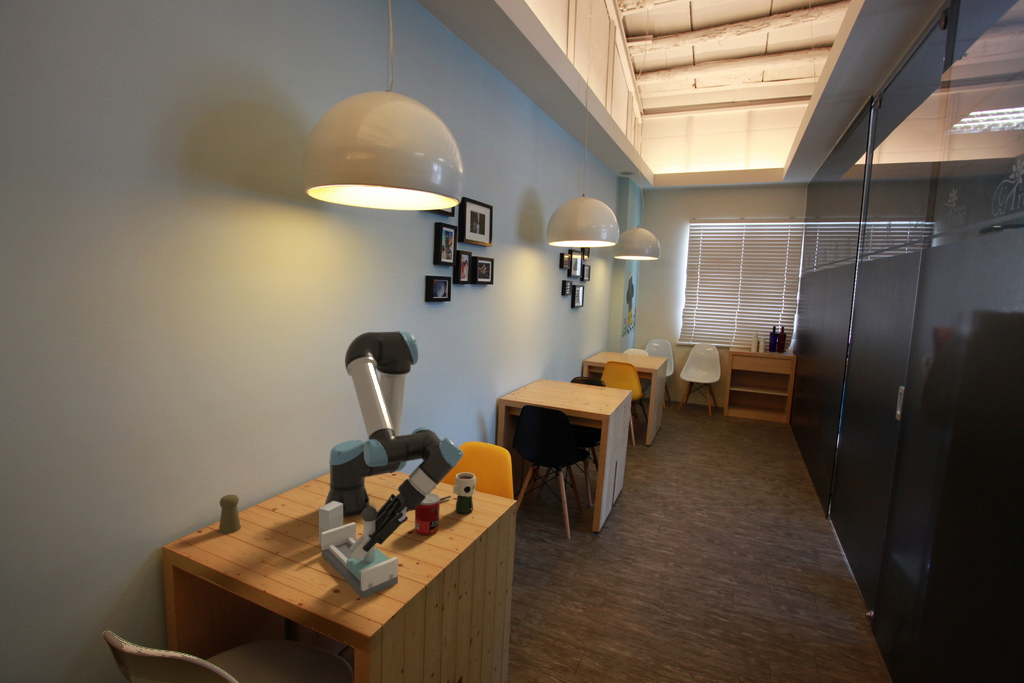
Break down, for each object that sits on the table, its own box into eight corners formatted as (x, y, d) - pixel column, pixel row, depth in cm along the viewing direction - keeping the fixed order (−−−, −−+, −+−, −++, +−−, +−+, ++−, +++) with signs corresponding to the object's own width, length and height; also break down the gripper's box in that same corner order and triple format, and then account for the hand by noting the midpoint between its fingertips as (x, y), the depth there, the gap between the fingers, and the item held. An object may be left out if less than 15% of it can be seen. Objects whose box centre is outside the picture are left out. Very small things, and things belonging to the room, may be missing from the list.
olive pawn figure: (216, 528, 152) (215, 496, 151) (237, 522, 156) (236, 490, 155) (222, 536, 148) (221, 502, 147) (243, 529, 152) (242, 496, 151)
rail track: (321, 555, 140) (321, 532, 139) (353, 543, 146) (354, 522, 146) (362, 598, 121) (363, 572, 120) (397, 583, 128) (398, 558, 127)
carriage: (346, 566, 128) (346, 506, 127) (377, 554, 135) (377, 497, 133) (360, 580, 123) (360, 517, 121) (391, 567, 129) (392, 507, 127)
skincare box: (333, 536, 150) (333, 500, 149) (343, 539, 148) (343, 503, 147) (318, 545, 145) (318, 507, 143) (328, 549, 143) (328, 511, 142)
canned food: (434, 537, 152) (434, 504, 151) (410, 533, 154) (411, 501, 153) (442, 525, 160) (443, 494, 158) (420, 522, 161) (420, 491, 160)
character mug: (460, 519, 165) (461, 483, 163) (446, 512, 169) (447, 477, 168) (481, 509, 173) (483, 474, 172) (468, 502, 178) (469, 469, 176)
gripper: (433, 507, 126) (368, 579, 121) (419, 483, 140) (360, 547, 135) (414, 490, 123) (346, 563, 118) (402, 468, 138) (341, 532, 133)
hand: (354, 554), depth 127 cm, fingers closed on carriage, 3 cm apart
